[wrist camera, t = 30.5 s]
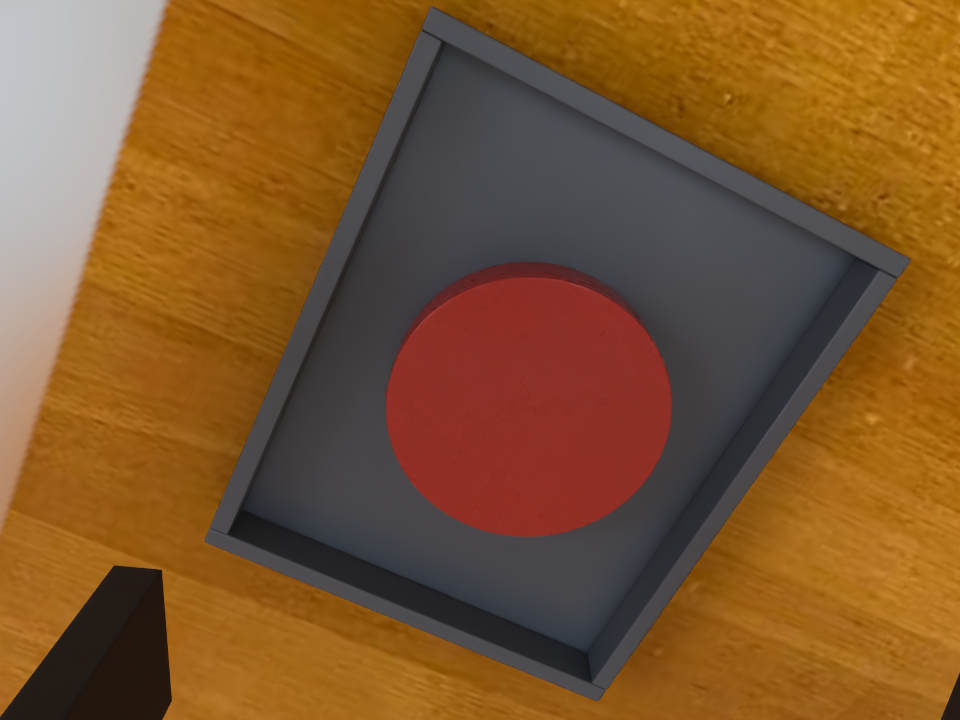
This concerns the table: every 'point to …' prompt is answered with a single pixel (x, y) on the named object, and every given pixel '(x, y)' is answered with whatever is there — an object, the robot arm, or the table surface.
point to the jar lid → (528, 400)
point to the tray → (570, 243)
